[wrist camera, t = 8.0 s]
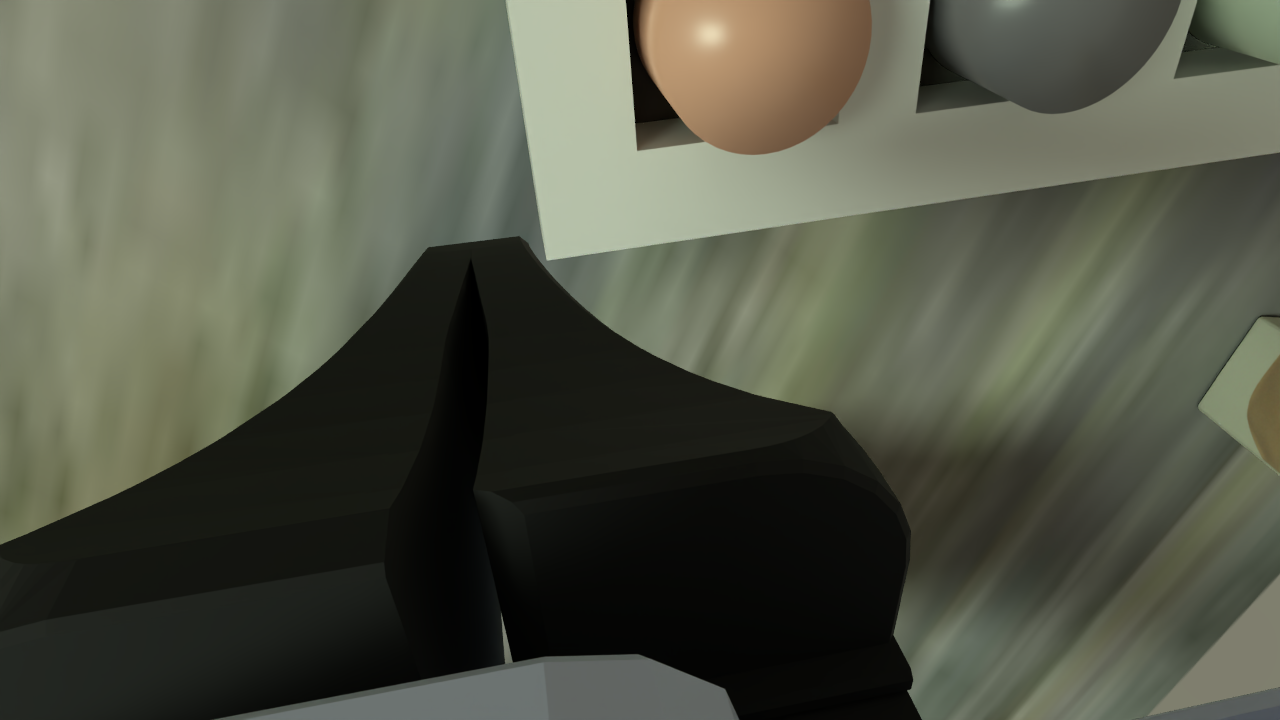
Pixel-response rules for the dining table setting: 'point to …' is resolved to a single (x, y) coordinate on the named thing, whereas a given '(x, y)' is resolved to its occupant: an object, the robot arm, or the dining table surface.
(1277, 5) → the sage button
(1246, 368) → the skincare box
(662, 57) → the terracotta button
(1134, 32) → the charcoal button
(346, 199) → the dining table surface
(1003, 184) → the panel
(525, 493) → the robot arm
